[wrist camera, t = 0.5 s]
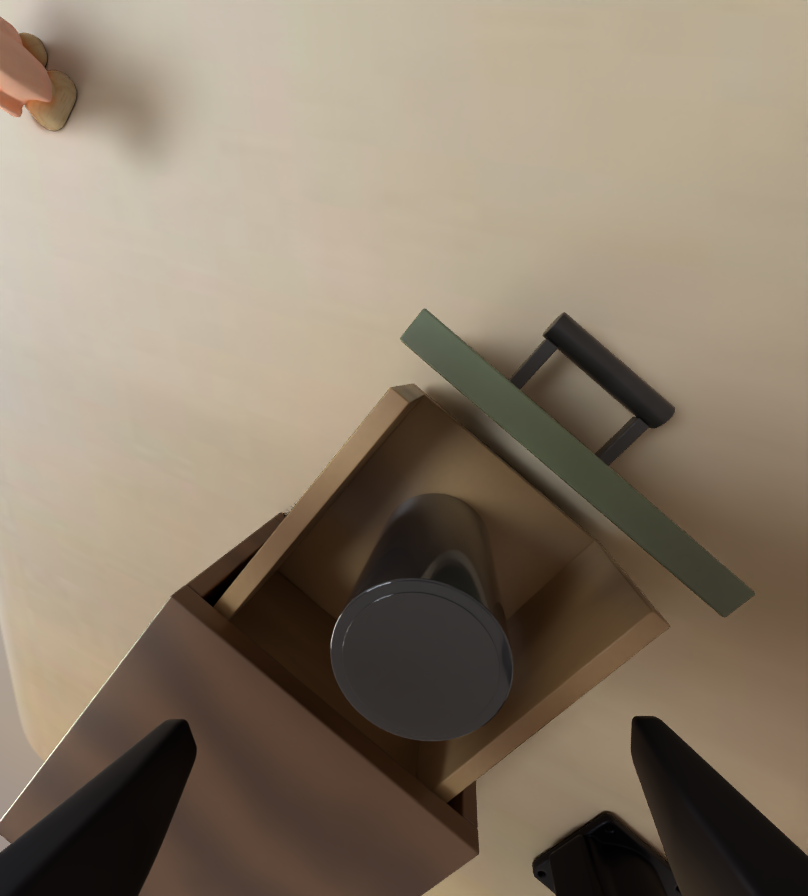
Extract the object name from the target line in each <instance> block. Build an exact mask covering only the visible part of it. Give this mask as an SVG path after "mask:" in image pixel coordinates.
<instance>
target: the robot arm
mask: <svg viewBox="0 0 808 896" xmlns="http://www.w3.org/2000/svg"><path fill="white" fill-rule="evenodd" d="M196 755H197V746H196V743H195V740H194V737H193V734H192V732H191V729H190V726H189V723H188V722H187V721H186V720H185V719H169V720H166V721H164V722H163V723H161V724H160V725H159V726H157V727H156V728H155V729H154V730H152V731H151V732H150V733H149V734H147V735H146V736H145V737H144V738H142V739H141V740H140V741H139V742H137V743H136V744H135V745H134V746H132V747H131V748H130V749H129V750H127V751H126V752H125V753H124V754H123V755H121V756H120V757H119V758H118V759H116V760H115V761H114V762H113V763H111V764H110V765H109V766H108V767H106V768H105V769H104V770H103V771H101V772H100V773H99V774H98V775H96V776H95V777H94V778H93V779H91V780H90V781H89V782H88V783H86V784H85V785H84V786H83V787H81V788H80V789H79V790H78V791H76V792H75V793H74V794H73V795H71V796H70V797H69V798H68V799H66V800H65V801H64V802H63V803H61V804H60V805H59V806H58V807H56V808H55V809H54V810H53V811H51V812H50V813H49V814H48V815H46V816H45V817H44V818H43V819H41V820H40V821H39V822H38V823H36V824H35V825H34V826H33V827H31V828H30V829H29V830H28V831H26V832H25V833H24V834H23V835H21V836H20V837H19V838H18V839H16V840H15V841H14V842H13V843H11V844H10V845H9V846H8V847H7V848H5V849H4V850H3V851H2V852H0V896H138V895H139V893H140V891H141V889H142V887H143V885H144V883H145V881H146V879H147V877H148V875H149V872H150V870H151V868H152V866H153V864H154V861H155V859H156V857H157V855H158V852H159V850H160V848H161V845H162V843H163V841H164V838H165V836H166V833H167V831H168V828H169V826H170V823H171V820H172V818H173V815H174V813H175V810H176V808H177V805H178V803H179V800H180V798H181V795H182V793H183V790H184V788H185V785H186V783H187V780H188V777H189V775H190V772H191V770H192V767H193V765H194V762H195V759H196ZM631 755H632V759H633V763H634V766H635V769H636V772H637V774H638V777H639V780H640V783H641V786H642V788H643V791H644V794H645V797H646V800H647V803H648V805H649V808H650V811H651V814H652V817H653V819H654V822H655V825H656V828H657V831H658V834H659V836H660V839H661V842H662V845H663V848H664V851H665V853H666V856H667V859H668V862H669V863H668V862H666V861H665V860H664V859H663V858H662V857H661V856H659V855H658V854H657V853H656V852H655V851H653V850H652V849H651V848H650V847H649V846H647V845H646V844H645V843H644V842H643V841H642V840H640V839H639V838H638V837H637V836H636V835H634V834H633V833H632V832H631V831H630V830H629V829H627V828H626V827H625V826H624V825H623V824H621V823H620V822H619V821H618V820H617V819H616V818H614V817H613V816H611V815H608V814H603V815H601V816H599V817H598V818H597V819H595V820H594V821H592V822H591V823H589V824H588V825H586V826H585V827H583V828H582V829H580V830H579V831H577V832H576V833H574V834H573V835H572V836H570V837H569V838H567V839H566V840H564V841H563V842H561V843H560V844H558V845H557V846H555V847H554V848H552V849H551V850H549V851H548V852H547V853H545V854H544V855H542V856H541V857H539V858H538V859H536V860H535V861H534V862H533V863H532V867H533V874H534V876H535V877H536V878H537V879H538V880H539V881H540V882H542V883H543V884H544V885H545V886H546V887H548V888H549V889H550V890H551V891H552V892H553V893H555V895H556V896H808V856H807V855H806V854H805V853H804V852H803V851H802V850H801V849H800V848H799V847H798V846H796V845H795V844H794V843H793V842H792V841H791V840H790V839H789V838H788V837H787V836H786V835H785V834H784V833H782V832H781V831H780V830H779V829H778V828H777V827H776V826H775V825H774V824H773V823H772V822H771V821H770V820H768V819H767V818H766V817H765V816H764V815H763V814H762V813H761V812H760V811H759V810H758V809H757V808H756V807H754V806H753V805H752V804H751V803H750V802H749V801H748V800H747V799H746V798H745V797H744V796H743V795H742V794H740V793H739V792H738V791H737V790H736V789H735V788H734V787H733V786H732V785H731V784H730V783H729V782H727V781H726V780H725V779H724V778H723V777H722V776H721V775H720V774H719V773H718V772H717V771H716V770H715V769H713V768H712V767H711V766H710V765H709V764H708V763H707V762H706V761H705V760H704V759H703V758H702V757H701V756H699V755H698V754H697V753H696V752H695V751H694V750H693V749H692V748H691V747H690V746H689V745H688V744H687V743H685V742H684V741H683V740H682V739H681V738H680V737H679V736H678V735H677V734H676V733H675V732H674V731H673V730H671V729H670V728H669V727H668V726H667V725H666V724H665V723H664V722H663V721H662V720H660V719H659V718H657V717H654V716H635V717H634V718H633V719H632V729H631Z"/></svg>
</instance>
